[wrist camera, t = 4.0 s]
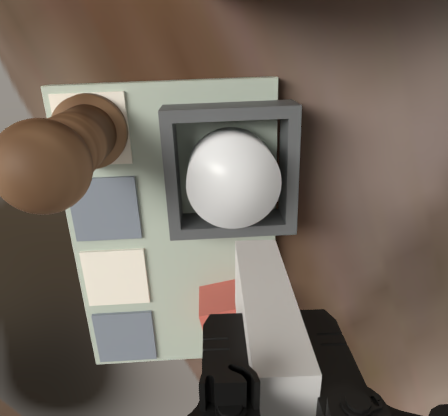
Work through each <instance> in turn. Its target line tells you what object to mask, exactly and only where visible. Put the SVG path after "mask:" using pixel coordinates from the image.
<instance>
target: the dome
mask: <svg viewBox="0 0 448 416" xmlns="http://www.w3.org/2000/svg"><path fill="white" fill-rule="evenodd" d="M281 184H282V181H281V173H280V169H279V166H278V164H277V162H276V160H275V159H274V157H273V155H272V154H271V152H270V151H269V149H268V148H267V146H266V145H265V143H264V142H263V141H262V140H261V139H260V138H259V137H258V136H257V135H255V134H254V133H252V132H250V131H248V130H246V129H242V128H238V127H224V128H220V129H217V130H214V131H212V132H210V133H208V134H207V135H205V136H204V137H203V138H202V139H201V140H199V142H198V143H197V144H196V145H195V147H194V149H193V150H192V152H191V155H190V158H189V163H188V170H187V178H186V191H187V196H188V199H189V201H190V204H191V206H192V207H193V209H194V210H195V211H196V213H197V214H198V215H199V216H200V217H201V218H203V219H204V220H205V221H207V222H209V223H210V224H212V225H215V226H217V227H221V228H227V229H238V228H244V227H248V226H250V225H253V224H255V223H257V222H259V221H260V220H262V219H263V218H264V217H266V216H267V215H268V214H269V213H270V212H271V210H272V209H273V208H274V206H275V204H276V203H277V201H278V198H279V196H280V192H281Z"/></svg>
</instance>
